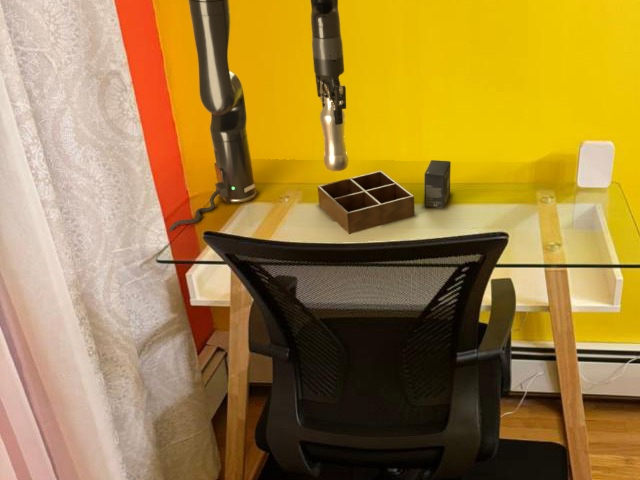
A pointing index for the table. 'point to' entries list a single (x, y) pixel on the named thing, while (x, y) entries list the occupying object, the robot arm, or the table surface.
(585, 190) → the table surface
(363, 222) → the compartment tray
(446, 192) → the box
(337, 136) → the silver metal bottle
